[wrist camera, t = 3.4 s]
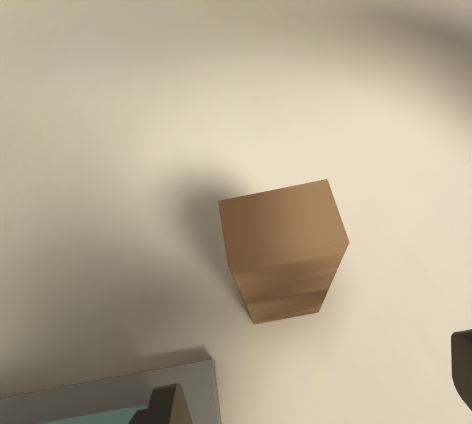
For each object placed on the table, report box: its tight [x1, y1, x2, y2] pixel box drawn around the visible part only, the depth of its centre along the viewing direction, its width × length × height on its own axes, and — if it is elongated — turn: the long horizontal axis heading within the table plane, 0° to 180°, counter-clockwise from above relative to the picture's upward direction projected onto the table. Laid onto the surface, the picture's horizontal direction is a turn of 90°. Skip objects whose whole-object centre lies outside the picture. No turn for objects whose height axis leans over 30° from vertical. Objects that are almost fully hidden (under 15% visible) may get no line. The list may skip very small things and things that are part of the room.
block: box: [218, 179, 349, 324], centre depth 16 cm, size 4×2×11 cm, turn 99°
